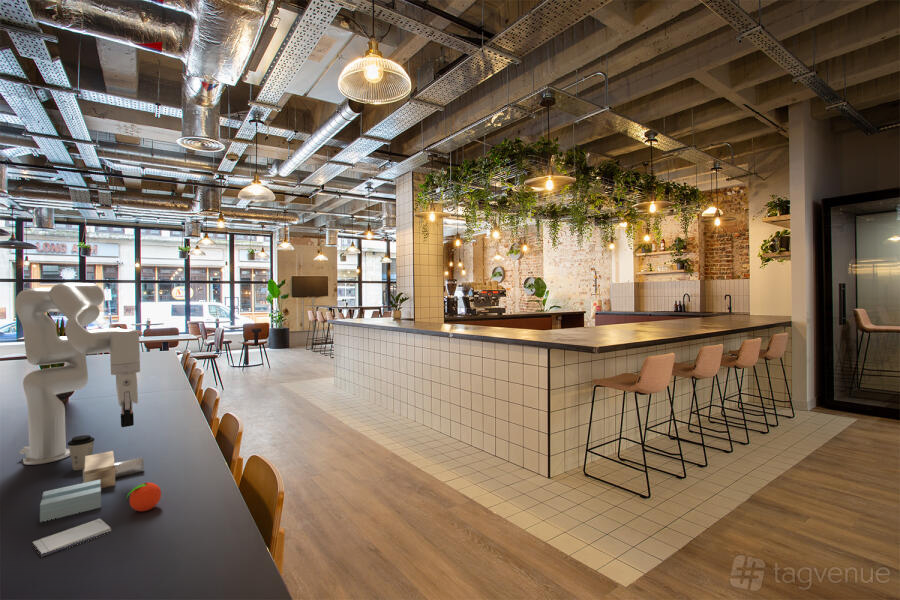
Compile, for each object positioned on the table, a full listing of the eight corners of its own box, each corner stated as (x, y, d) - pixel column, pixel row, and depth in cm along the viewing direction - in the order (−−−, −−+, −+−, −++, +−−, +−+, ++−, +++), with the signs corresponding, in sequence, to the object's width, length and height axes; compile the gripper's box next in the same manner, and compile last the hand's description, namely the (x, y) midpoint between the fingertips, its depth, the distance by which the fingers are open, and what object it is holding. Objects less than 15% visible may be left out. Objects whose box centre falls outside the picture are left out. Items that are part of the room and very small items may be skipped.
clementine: (132, 520, 110) (131, 492, 110) (120, 513, 113) (119, 486, 113) (166, 507, 117) (165, 481, 116) (153, 501, 120) (153, 475, 120)
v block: (40, 522, 110) (39, 506, 109) (44, 505, 119) (43, 490, 119) (101, 507, 117) (100, 492, 117) (100, 491, 126) (100, 478, 126)
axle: (82, 486, 131) (82, 472, 131) (83, 481, 134) (82, 467, 134) (143, 473, 140) (143, 459, 140) (142, 468, 144) (142, 455, 143)
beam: (85, 492, 127) (84, 471, 126) (85, 474, 139) (85, 456, 139) (115, 485, 131) (114, 465, 131) (113, 468, 143) (113, 450, 143)
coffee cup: (100, 464, 147) (99, 435, 147) (77, 472, 141) (76, 441, 141) (86, 462, 150) (85, 433, 149) (62, 470, 143) (62, 439, 143)
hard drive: (99, 517, 110) (32, 540, 99) (111, 527, 105) (41, 552, 95) (99, 524, 110) (32, 547, 99) (111, 534, 105) (41, 560, 95)
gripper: (141, 369, 135) (143, 428, 135) (138, 364, 147) (140, 418, 147) (111, 372, 131) (112, 434, 131) (110, 367, 142) (112, 423, 143)
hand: (127, 425), depth 139 cm, fingers closed
